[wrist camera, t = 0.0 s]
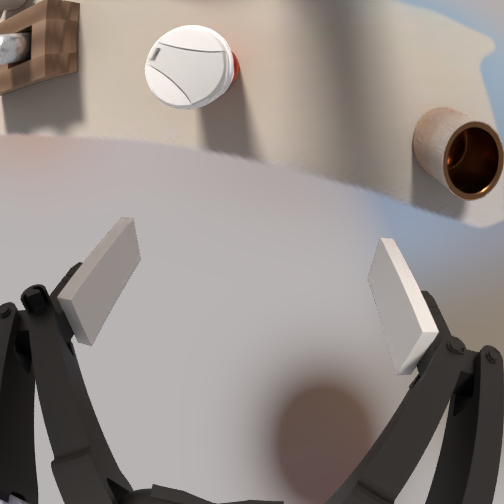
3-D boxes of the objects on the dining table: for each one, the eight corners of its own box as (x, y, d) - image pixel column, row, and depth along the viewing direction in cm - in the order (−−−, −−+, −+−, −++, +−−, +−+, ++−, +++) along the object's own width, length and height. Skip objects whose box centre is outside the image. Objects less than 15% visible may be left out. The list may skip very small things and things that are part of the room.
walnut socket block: (0, 38, 28) (-30, 42, 21) (79, 3, 27) (47, -2, 21) (1, 95, 35) (-29, 105, 28) (77, 71, 34) (45, 76, 27)
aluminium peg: (23, 37, 26) (-14, 41, 19) (42, 28, 25) (5, 30, 19) (22, 63, 28) (-14, 70, 21) (42, 55, 28) (4, 61, 21)
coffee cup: (175, 81, 35) (125, 89, 23) (205, 30, 31) (166, 10, 19) (229, 108, 37) (203, 127, 25) (261, 57, 33) (251, 48, 21)
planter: (475, 118, 33) (512, 134, 25) (459, 181, 39) (491, 208, 31) (418, 97, 33) (452, 108, 25) (404, 167, 39) (431, 193, 31)
